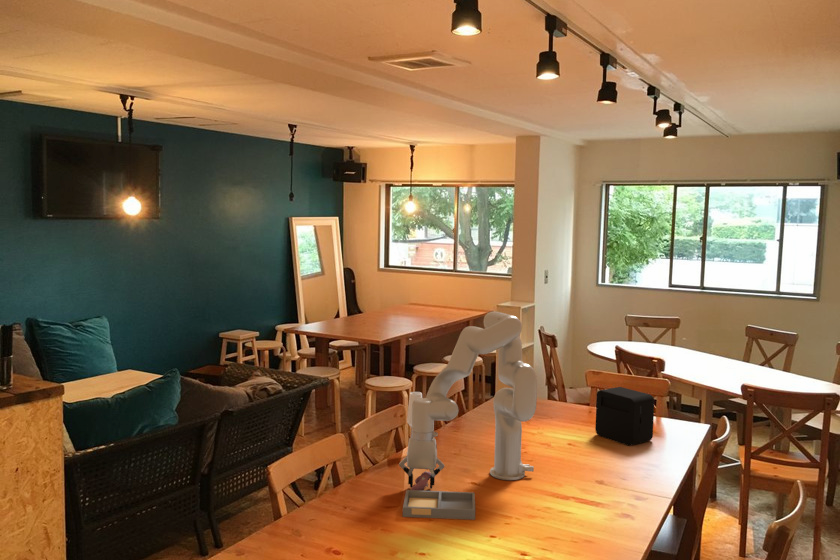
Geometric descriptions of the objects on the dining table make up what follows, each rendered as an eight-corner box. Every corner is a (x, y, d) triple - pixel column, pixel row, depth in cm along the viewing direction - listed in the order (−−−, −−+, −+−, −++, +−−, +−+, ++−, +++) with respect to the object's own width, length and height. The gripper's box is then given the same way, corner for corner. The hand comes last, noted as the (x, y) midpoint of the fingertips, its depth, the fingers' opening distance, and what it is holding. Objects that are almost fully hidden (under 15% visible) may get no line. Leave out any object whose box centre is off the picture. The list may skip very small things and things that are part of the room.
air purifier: (655, 441, 298) (657, 395, 296) (632, 447, 290) (634, 399, 288) (617, 429, 314) (619, 385, 313) (594, 434, 306) (596, 389, 304)
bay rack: (474, 501, 231) (474, 492, 231) (475, 520, 217) (475, 510, 217) (406, 498, 233) (406, 489, 232) (402, 517, 218) (402, 507, 218)
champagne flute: (411, 456, 274) (412, 396, 272) (403, 451, 280) (404, 392, 278) (426, 454, 277) (427, 394, 275) (418, 449, 283) (419, 390, 281)
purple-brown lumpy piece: (420, 499, 236) (430, 481, 235) (409, 492, 237) (418, 474, 236) (425, 488, 246) (435, 471, 245) (414, 481, 247) (423, 464, 246)
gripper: (448, 433, 243) (446, 483, 244) (398, 430, 244) (397, 481, 245) (447, 439, 235) (446, 492, 237) (396, 437, 236) (395, 489, 238)
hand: (421, 486), depth 241 cm, fingers closed on purple-brown lumpy piece, 6 cm apart
